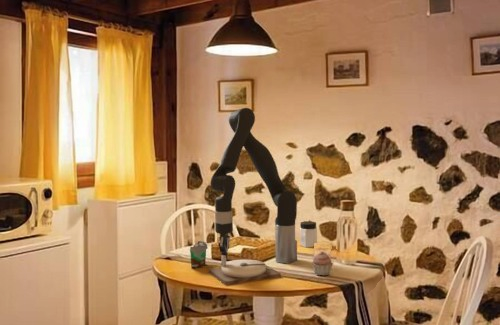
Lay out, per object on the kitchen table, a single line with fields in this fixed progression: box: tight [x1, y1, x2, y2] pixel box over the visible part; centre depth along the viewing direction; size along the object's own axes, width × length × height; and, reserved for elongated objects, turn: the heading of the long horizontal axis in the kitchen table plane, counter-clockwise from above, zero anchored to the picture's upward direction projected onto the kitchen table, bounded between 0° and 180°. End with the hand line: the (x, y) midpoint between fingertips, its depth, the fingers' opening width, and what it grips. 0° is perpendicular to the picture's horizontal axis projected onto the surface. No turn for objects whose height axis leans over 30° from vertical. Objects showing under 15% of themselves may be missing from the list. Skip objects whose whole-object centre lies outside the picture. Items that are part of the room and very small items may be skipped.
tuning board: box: [207, 264, 282, 286], centre depth 233 cm, size 25×20×2 cm
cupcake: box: [310, 250, 334, 276], centre depth 232 cm, size 9×9×10 cm
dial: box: [220, 254, 267, 278], centre depth 233 cm, size 19×19×7 cm
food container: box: [189, 240, 209, 269], centre depth 248 cm, size 12×6×10 cm, turn 168°
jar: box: [299, 220, 318, 248], centre depth 282 cm, size 9×8×12 cm
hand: (224, 260), depth 236 cm, fingers closed
